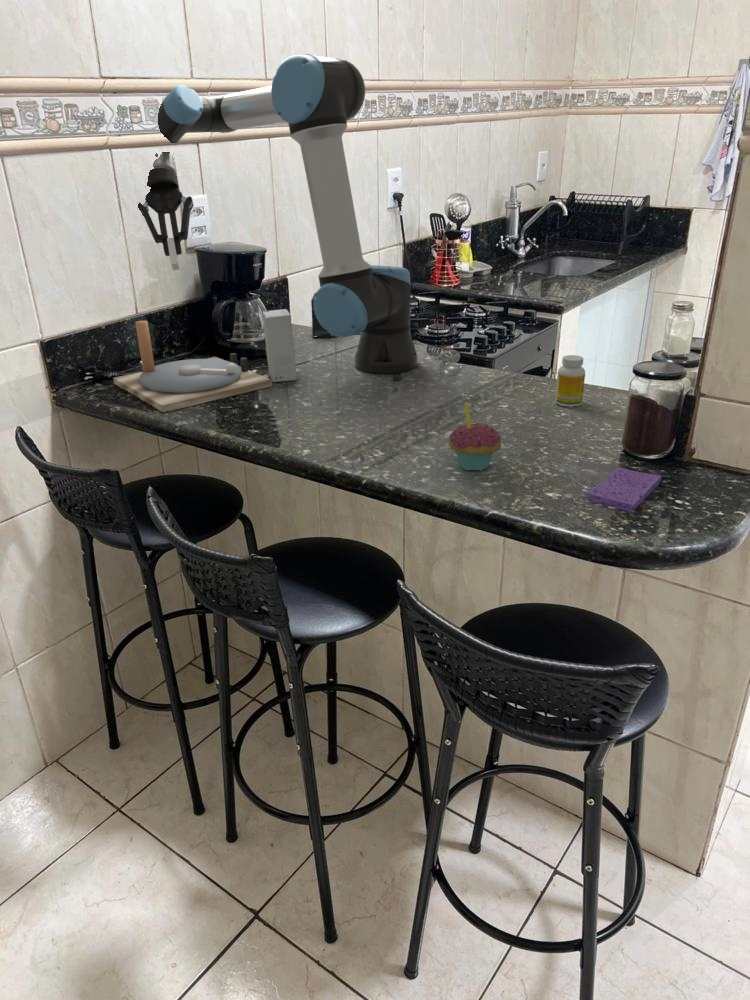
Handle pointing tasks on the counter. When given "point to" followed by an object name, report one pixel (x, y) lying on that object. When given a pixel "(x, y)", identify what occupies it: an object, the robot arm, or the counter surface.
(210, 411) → the counter surface
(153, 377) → the cam disc
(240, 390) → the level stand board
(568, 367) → the supplement bottle
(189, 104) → the robot arm
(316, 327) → the small box
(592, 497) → the sponges
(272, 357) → the skincare box
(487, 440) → the cupcake
